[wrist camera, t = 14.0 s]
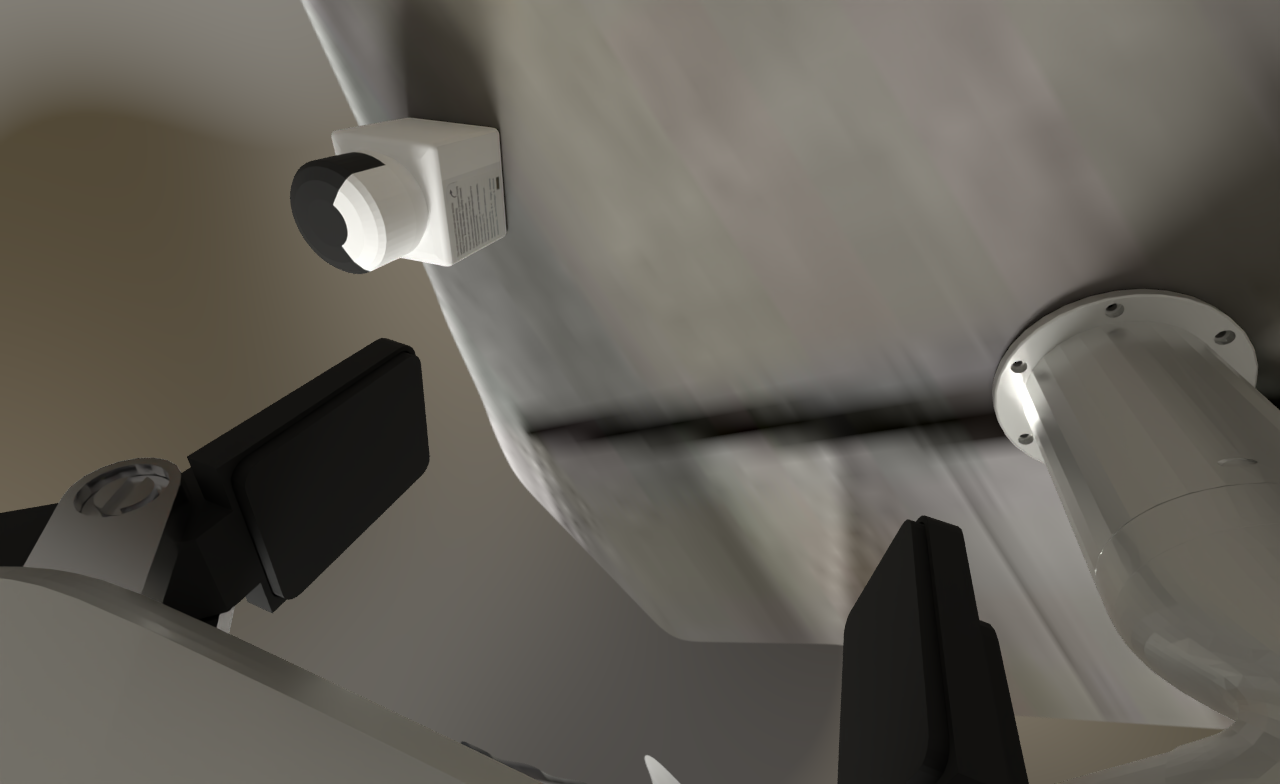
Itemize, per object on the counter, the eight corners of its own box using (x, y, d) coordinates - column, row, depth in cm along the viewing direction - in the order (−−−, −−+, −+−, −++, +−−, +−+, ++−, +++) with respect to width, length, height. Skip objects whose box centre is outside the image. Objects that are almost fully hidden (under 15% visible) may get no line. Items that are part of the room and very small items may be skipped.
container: (424, 221, 46) (292, 276, 35) (407, 116, 42) (253, 142, 31) (508, 236, 44) (396, 298, 33) (500, 127, 40) (369, 159, 29)
